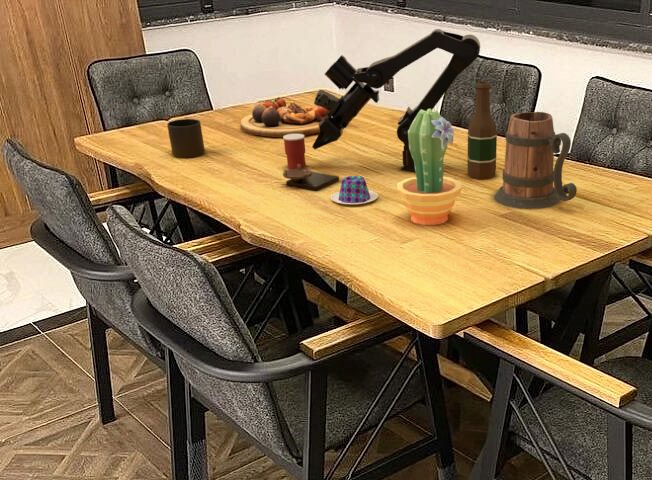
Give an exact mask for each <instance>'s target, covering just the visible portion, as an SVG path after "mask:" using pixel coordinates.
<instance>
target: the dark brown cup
mask: <svg viewBox="0 0 652 480" xmlns="http://www.w3.org/2000/svg"><path fill="white" fill-rule="evenodd" d="M166 126H167V132H168V136H169V142H170V148H171V149H170V150H171V154H172V156H173V157H176V158H180V159H190V158H191V159H192V158H197V157H200V156H202V155H204V154H205V152H206V150H205V142H204V137H203V131H202V130H203V129H202V124H201V121H200V120H199V119H196V118H195V119H194V118H181V119H180V118H179V119H174V120H171V121H168V122H167V124H166Z"/></svg>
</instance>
